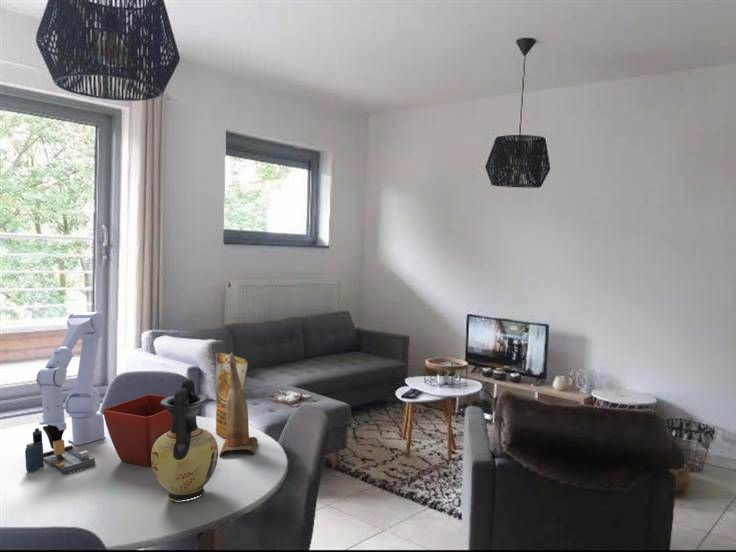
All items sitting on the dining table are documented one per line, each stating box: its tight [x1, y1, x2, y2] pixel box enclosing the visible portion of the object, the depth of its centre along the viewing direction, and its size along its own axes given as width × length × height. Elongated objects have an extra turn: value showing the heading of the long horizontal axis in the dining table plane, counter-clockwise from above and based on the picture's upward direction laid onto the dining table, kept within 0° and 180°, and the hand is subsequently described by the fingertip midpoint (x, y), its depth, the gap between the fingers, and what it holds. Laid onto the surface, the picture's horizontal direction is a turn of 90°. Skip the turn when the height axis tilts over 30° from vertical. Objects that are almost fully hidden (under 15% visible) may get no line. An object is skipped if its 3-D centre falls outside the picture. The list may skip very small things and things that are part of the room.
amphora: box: [151, 378, 219, 502], centre depth 149 cm, size 18×17×30 cm
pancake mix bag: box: [214, 352, 249, 440], centre depth 195 cm, size 7×19×28 cm, turn 41°
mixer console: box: [43, 444, 96, 475], centre depth 175 cm, size 9×18×4 cm, turn 48°
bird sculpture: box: [218, 352, 259, 458], centre depth 181 cm, size 11×12×32 cm
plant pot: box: [102, 394, 172, 468], centre depth 177 cm, size 19×19×17 cm
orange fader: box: [52, 438, 66, 457], centre depth 177 cm, size 3×2×5 cm
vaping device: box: [24, 428, 45, 473], centre depth 170 cm, size 3×5×12 cm, turn 161°
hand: (55, 447), depth 178 cm, fingers closed
